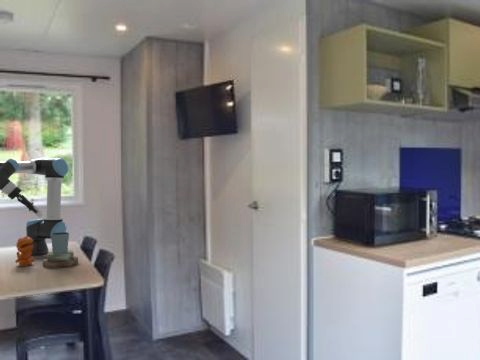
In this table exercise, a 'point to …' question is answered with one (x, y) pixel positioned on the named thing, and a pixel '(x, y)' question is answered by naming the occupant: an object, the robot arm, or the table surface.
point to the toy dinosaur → (24, 251)
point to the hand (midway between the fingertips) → (40, 214)
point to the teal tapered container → (60, 242)
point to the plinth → (59, 264)
